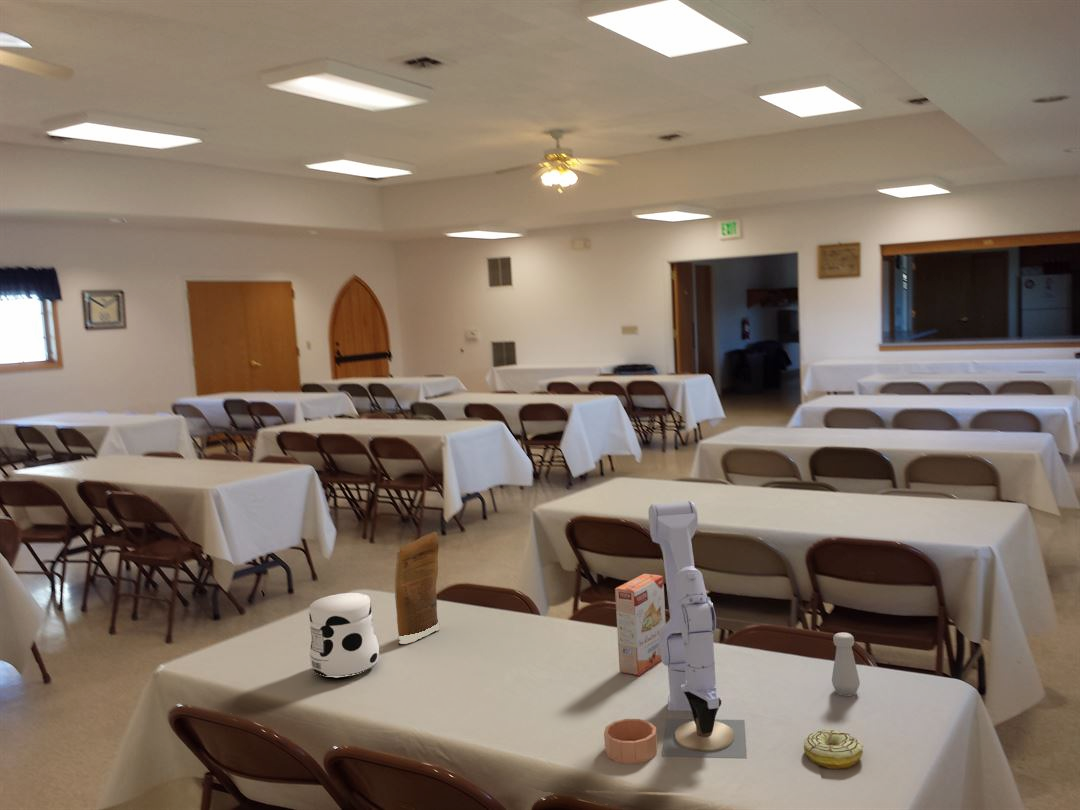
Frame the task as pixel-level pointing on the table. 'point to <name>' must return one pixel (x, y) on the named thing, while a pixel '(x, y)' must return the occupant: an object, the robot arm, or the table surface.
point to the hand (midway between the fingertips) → (703, 728)
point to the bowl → (630, 740)
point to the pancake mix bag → (417, 585)
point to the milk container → (342, 635)
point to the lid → (704, 736)
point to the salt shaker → (844, 665)
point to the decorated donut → (833, 749)
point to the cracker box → (639, 622)
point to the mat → (731, 751)
